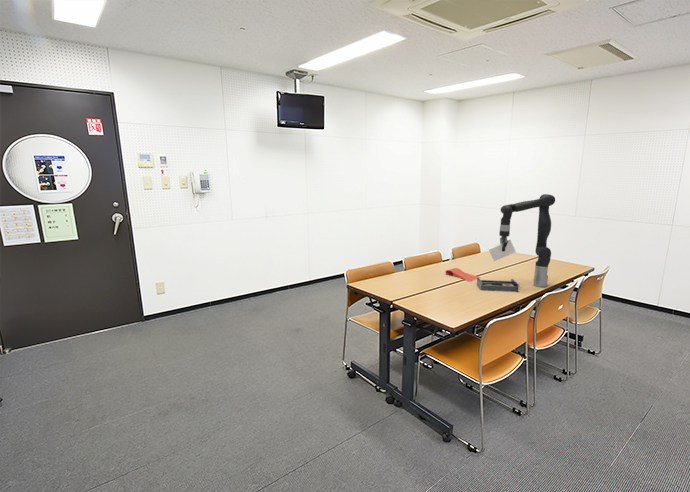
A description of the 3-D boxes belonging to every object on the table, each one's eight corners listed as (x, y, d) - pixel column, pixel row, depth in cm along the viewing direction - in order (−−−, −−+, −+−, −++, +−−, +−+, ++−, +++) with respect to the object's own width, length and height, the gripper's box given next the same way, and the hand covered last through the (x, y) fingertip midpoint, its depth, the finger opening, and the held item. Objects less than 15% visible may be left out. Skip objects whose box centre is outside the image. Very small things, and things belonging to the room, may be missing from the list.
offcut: (512, 286, 279) (512, 284, 279) (514, 288, 275) (514, 286, 275) (501, 286, 281) (501, 283, 280) (503, 288, 276) (503, 285, 276)
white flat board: (514, 251, 286) (509, 239, 285) (515, 252, 284) (510, 240, 282) (493, 260, 290) (488, 248, 289) (494, 261, 288) (489, 249, 286)
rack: (511, 285, 288) (512, 278, 287) (518, 291, 273) (518, 284, 272) (476, 284, 292) (477, 277, 291) (481, 290, 277) (481, 282, 276)
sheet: (441, 275, 319) (455, 271, 334) (470, 286, 297) (485, 281, 313) (442, 270, 317) (456, 265, 333) (471, 280, 296) (486, 275, 311)
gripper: (512, 231, 276) (510, 252, 279) (506, 229, 289) (505, 249, 292) (502, 231, 277) (500, 252, 280) (497, 228, 290) (495, 249, 293)
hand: (502, 250), depth 286 cm, fingers closed on white flat board, 2 cm apart
